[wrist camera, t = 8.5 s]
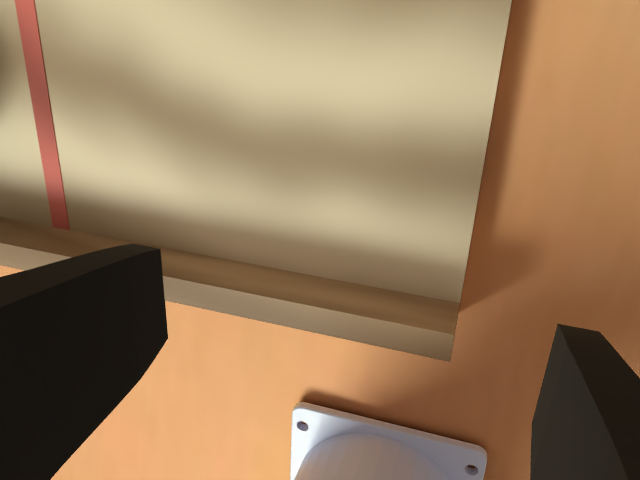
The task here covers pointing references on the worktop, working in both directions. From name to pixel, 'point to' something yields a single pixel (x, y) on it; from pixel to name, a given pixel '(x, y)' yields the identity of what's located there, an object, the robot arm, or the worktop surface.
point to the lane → (257, 151)
